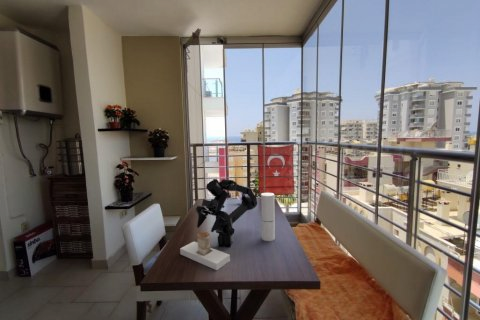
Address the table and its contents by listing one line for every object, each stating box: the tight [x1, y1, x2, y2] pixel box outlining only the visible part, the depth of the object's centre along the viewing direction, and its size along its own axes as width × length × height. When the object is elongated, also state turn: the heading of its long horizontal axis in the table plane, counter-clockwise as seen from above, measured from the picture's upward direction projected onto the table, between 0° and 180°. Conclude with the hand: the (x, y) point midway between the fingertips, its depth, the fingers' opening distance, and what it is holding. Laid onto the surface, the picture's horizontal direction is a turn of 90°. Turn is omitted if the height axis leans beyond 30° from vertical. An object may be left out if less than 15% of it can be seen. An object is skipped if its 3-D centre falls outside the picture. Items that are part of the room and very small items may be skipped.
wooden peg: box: [196, 230, 211, 256], centre depth 110 cm, size 4×4×12 cm
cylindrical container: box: [260, 192, 276, 242], centre depth 127 cm, size 7×7×25 cm
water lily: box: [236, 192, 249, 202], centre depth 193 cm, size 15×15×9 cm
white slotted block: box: [179, 241, 231, 271], centre depth 110 cm, size 9×24×3 cm, turn 53°
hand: (204, 229), depth 109 cm, fingers open, 9 cm apart
